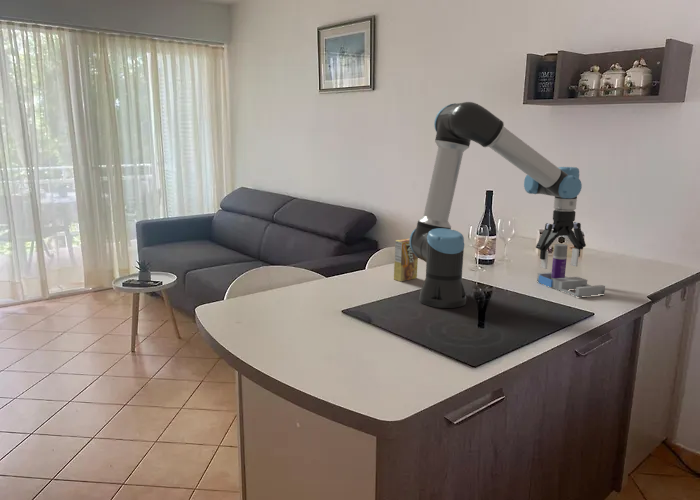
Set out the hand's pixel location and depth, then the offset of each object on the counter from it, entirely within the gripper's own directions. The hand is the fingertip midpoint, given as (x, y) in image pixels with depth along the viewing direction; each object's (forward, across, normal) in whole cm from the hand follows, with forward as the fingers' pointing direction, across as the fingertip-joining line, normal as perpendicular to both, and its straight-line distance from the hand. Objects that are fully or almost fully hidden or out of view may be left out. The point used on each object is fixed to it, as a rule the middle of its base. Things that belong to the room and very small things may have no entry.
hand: (559, 266), depth 198 cm
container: (+7, 0, 0) cm, 7 cm away
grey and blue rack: (+7, 0, -6) cm, 9 cm away
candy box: (+7, -52, +22) cm, 57 cm away
